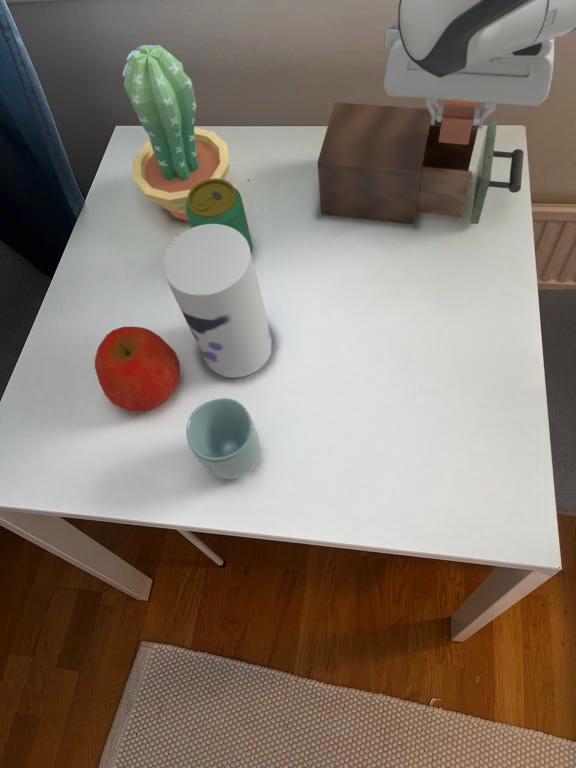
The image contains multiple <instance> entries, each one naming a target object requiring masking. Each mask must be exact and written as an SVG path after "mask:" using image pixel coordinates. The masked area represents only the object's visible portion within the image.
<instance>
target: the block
mask: <svg viewBox="0 0 576 768" xmlns="http://www.w3.org/2000/svg"><path fill="white" fill-rule="evenodd" d="M476 104H477V102H469V101H453V100H444V105H443V107H444V111H443V116H442V123H441V129H440V135H439V141H438V142H440V143H453V144H465V145H468V143H469V139H470V134H471V129H472V125H473V120H474V113H475V109H476Z"/></svg>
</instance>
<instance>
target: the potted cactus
mask: <svg viewBox="0 0 576 768" xmlns="http://www.w3.org/2000/svg"><path fill="white" fill-rule="evenodd" d="M125 60H126V61H127V62H126V64H125V66H124V68H123V71H122V77H124V81H123V87H124V89H125V93H126V94H127V96H128V99H129V101H130V103H131V105H132V107H133V110H134V113H136V115H137V118H138V120H139V122H140V124H141V127H142V128H143V129H144V131H145V132H146V134H147V136H148V139H149V140H148V141H147V142H145V143H144V144H143V146H142V147H141V149H140V150H139V152H138V153H137V154H136V156H135V157H134V159H133V160H132V180H133V181H134V183H135V184H136V185H137V187H138V188H139V189H140V190H141V192H143V193H144V194H145V196H147V197H148V199H149V200H150V201H154V202H156V203H158V204H159V205H160V206H161V207H162V208H163V209H166V210H168V211H169V212H170V214H171V215H172V216H173V217H174V218H176V219H180V220H184V221H186V222H187V221H188V222H189V219H188V216H187V213H186V209H185V207H186V202H187V197H188V194H189V192H190V191H191V189H192V188H193V187H194V186H195V185H197V184H198V183H200V182H202V181H205V180H208V179H222V180H225V178H226V176H227V175H228V173H229V172H230V158H229V151H228V150H229V148H228V147H229V146H228V144H227V143H226V142H225V141H224V140H223V139H222V138H221V137H220V136H219V135H217V134H216V132H215V131H213V130H208V129H204V128H199V127H195V120H196V115H197V109H198V107H197V101H196V97H195V91H194V87H193V81H192V79H191V78H190V77H189V76H188V74H186V73H185V70H184V66H183V63H181V61H179V59H177V58H176V57H175V56H174V55H172V54H171V53H170V52H169V51H167V49H165V48H164V47H162V46H161V45H160V44H156V45H153V44H149V45H147V44H142V45H140V46H137V47H136V48H135V50H132V51H131V52H129V54H128V56H127V57H126V59H125Z"/></svg>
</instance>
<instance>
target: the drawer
mask: <svg viewBox="0 0 576 768" xmlns="http://www.w3.org/2000/svg"><path fill="white" fill-rule="evenodd" d="M497 125H498V122H497V121H490V120H489V121H488V122H487V126H486V129H485V134H484V138H483V141H482V145H481V146H482V147H481V150H480V155H479V159H478V162H477V166H476V173H475V179H474V180H475V182H474V187H473V188H474V189H473V195H472V196H473V197H472V205H471V213H470V220H469V224H473V225H479V223H480V219H481V215H482V211H483V208H484V204H485V201H486V197H487V193H488V190H489V188H498V189H499V188H500V189H508V191H509V192H510V193H514V194H515V193H518V192H520V191H521V189H522V177H523V167H524V166H523V165H524V163H523V162H524V154H525V153H524V150H522V149H520V148H517V149H514V150H513V151H512V152H511V151H501V150H499V151H498V150H495V142H496V135H497V134H496V133H497ZM440 129H441V125H431V122H430V127H429V133H428V138H427V144H426V149H425V155H424V160H423V166H422V171H421V179H420V186H419V193H418V201H417V208H416V214H426V215H435V216H436V215H437V216H443V217H444V216H445V217H455V218H462V217H463V214H464V210H465V206H466V201H467V198H468V193H469V189H470V185H471V180H472V176H473V171H472V170H470V166H471V161H472V156H473V152H474V148H475V143H476V140H477V136H478V135H477V134H478V130H479V128H472V129H471V134H470V139H469V143H468V145H465V144H453V143H440V142H438V141H439V135H440ZM494 158H505V159H510V168H509V169H510V171H509V181H508V182H505V181H497V180H495V181H494V180H491V178H492V169H493V161H494Z"/></svg>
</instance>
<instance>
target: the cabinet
mask: <svg viewBox="0 0 576 768" xmlns="http://www.w3.org/2000/svg"><path fill="white" fill-rule="evenodd" d="M431 119H432V115H431V114H430V112H429V110H428V109H427V108H424V107H408V106H395V105H381V104H380V105H379V104H365V103H353V102H351V103H350V102H338V101H334V103H333V106H332V110H331V114H330V117H329V120H328V124H327V127H326V131H325V135H324V138H323V141H322V145H321V148H320V151H319V155H318V159H317V162H316V163H317V176H318V189H319V203H320V215H321V216H329V217H331V216H332V217H340V218H348V219H358V220H368V221H377V222H385V223H393V224H394V223H396V224H405V225H415V222H416V216H417V213H416V208H417V201H418V193H419V186H420V179H421V171H422V166H423V160H424V155H425V149H426V144H427V138H428V133H429V127H430V122H431Z"/></svg>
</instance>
